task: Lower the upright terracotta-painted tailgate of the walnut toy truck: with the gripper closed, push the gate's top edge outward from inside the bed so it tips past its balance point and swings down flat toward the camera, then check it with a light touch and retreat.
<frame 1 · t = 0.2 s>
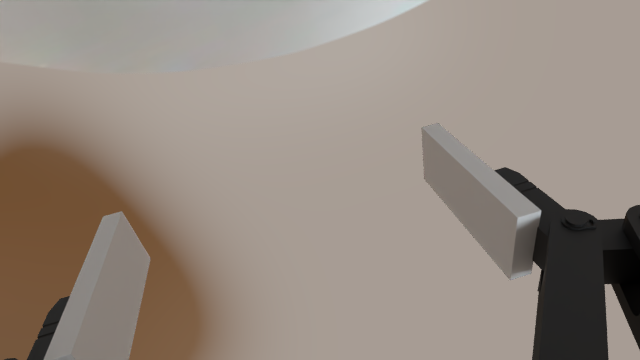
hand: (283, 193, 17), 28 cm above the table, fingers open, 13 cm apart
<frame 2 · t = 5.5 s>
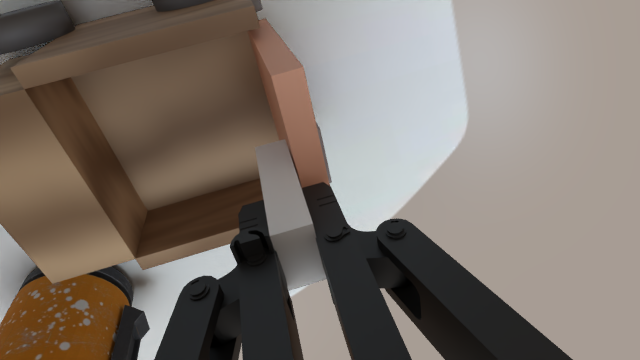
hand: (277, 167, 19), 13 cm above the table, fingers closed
canister: (94, 286, 37), on the table
truck: (268, 76, 30), on the table
tailgate: (296, 132, 21), point 11 cm above the table, hinge at 1.8°, touching gripper
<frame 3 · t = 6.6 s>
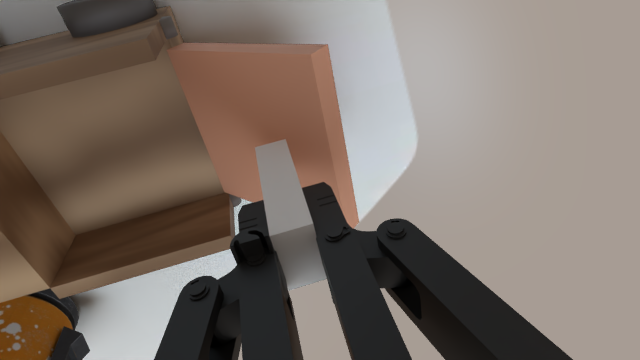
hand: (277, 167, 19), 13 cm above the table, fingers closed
canister: (38, 305, 36), on the table
truck: (204, 97, 29), on the table
tailgate: (265, 134, 22), point 9 cm above the table, hinge at 40.9°
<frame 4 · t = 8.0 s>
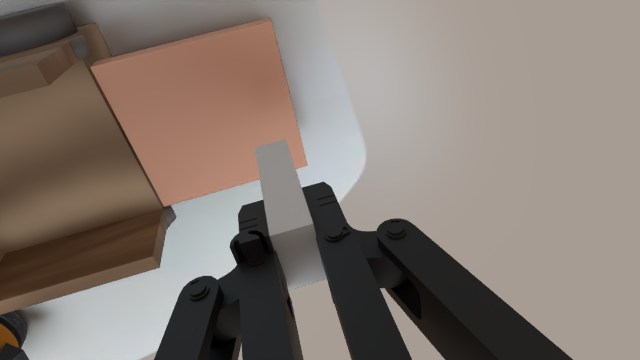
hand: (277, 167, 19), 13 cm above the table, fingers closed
truck: (139, 113, 29), on the table
tailgate: (212, 117, 26), point 5 cm above the table, hinge at 90.2°
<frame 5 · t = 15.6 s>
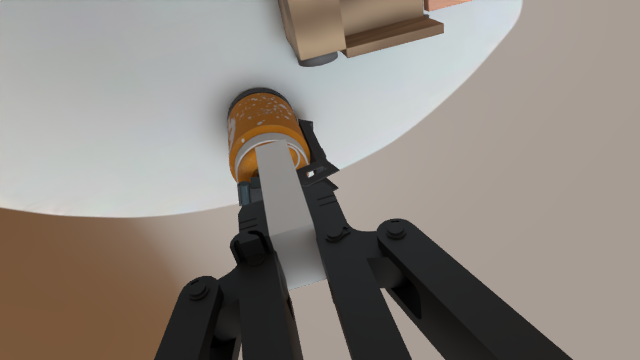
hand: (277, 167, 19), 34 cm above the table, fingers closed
canister: (268, 117, 54), on the table
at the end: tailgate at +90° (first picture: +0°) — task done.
